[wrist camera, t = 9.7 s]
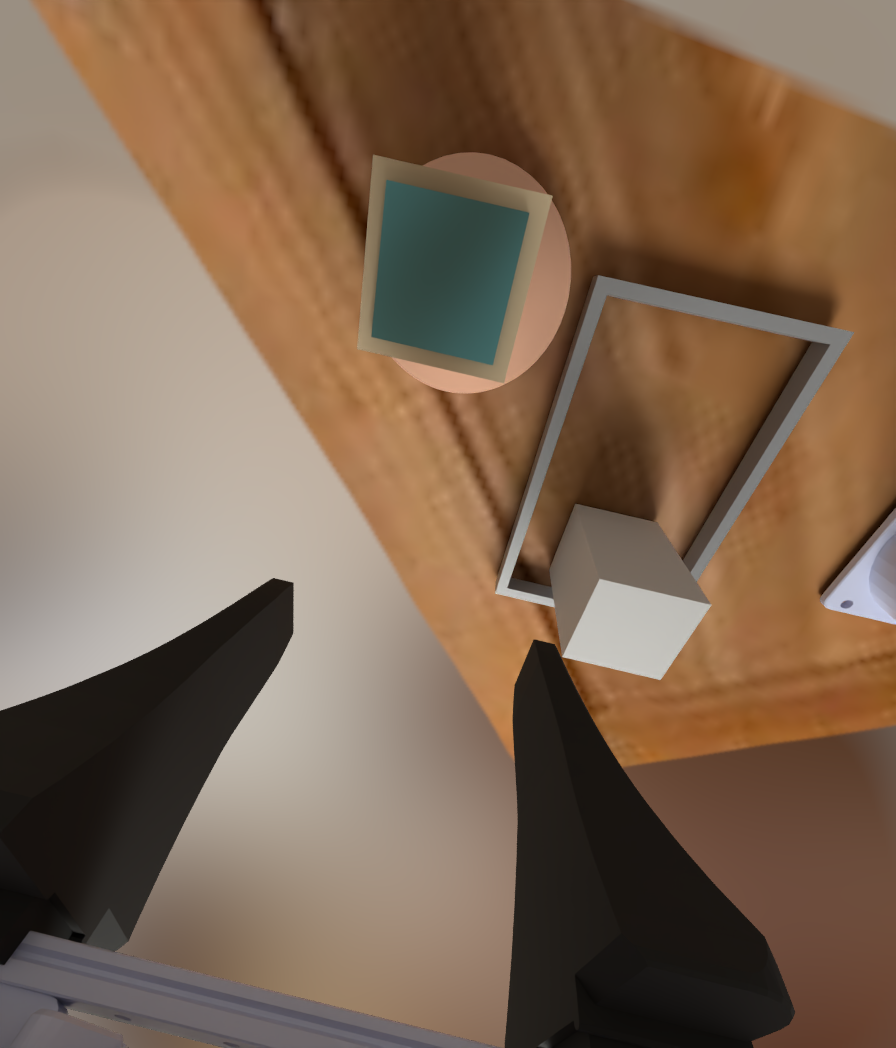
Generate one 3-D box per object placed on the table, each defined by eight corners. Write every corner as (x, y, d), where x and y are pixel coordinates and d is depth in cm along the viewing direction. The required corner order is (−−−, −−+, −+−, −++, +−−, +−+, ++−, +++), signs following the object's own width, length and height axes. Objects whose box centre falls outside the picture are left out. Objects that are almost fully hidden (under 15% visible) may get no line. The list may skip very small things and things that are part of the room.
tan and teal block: (536, 230, 14) (553, 193, 9) (504, 355, 16) (504, 384, 11) (421, 204, 14) (370, 152, 9) (404, 331, 16) (355, 349, 11)
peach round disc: (598, 186, 14) (604, 179, 13) (533, 405, 18) (534, 411, 17) (382, 138, 14) (374, 128, 13) (363, 367, 18) (356, 371, 17)
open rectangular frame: (834, 330, 15) (854, 332, 14) (657, 619, 22) (664, 632, 21) (593, 276, 15) (598, 275, 14) (495, 581, 22) (495, 593, 22)
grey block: (657, 522, 20) (711, 605, 14) (623, 587, 22) (660, 680, 16) (575, 503, 20) (599, 578, 15) (549, 569, 22) (562, 656, 17)
